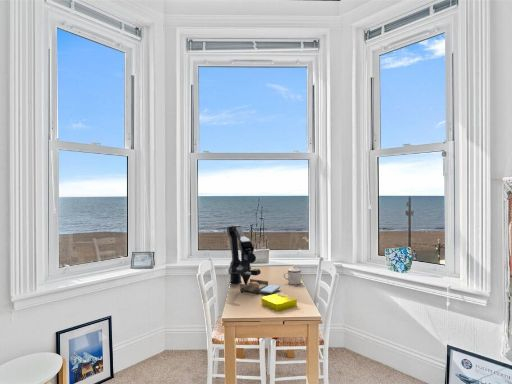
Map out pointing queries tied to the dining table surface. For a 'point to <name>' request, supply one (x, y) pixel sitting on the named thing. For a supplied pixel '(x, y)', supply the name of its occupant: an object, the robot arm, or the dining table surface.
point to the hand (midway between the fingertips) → (245, 284)
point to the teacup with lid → (293, 275)
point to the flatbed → (254, 288)
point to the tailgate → (270, 288)
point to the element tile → (279, 302)
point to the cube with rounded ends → (254, 283)
